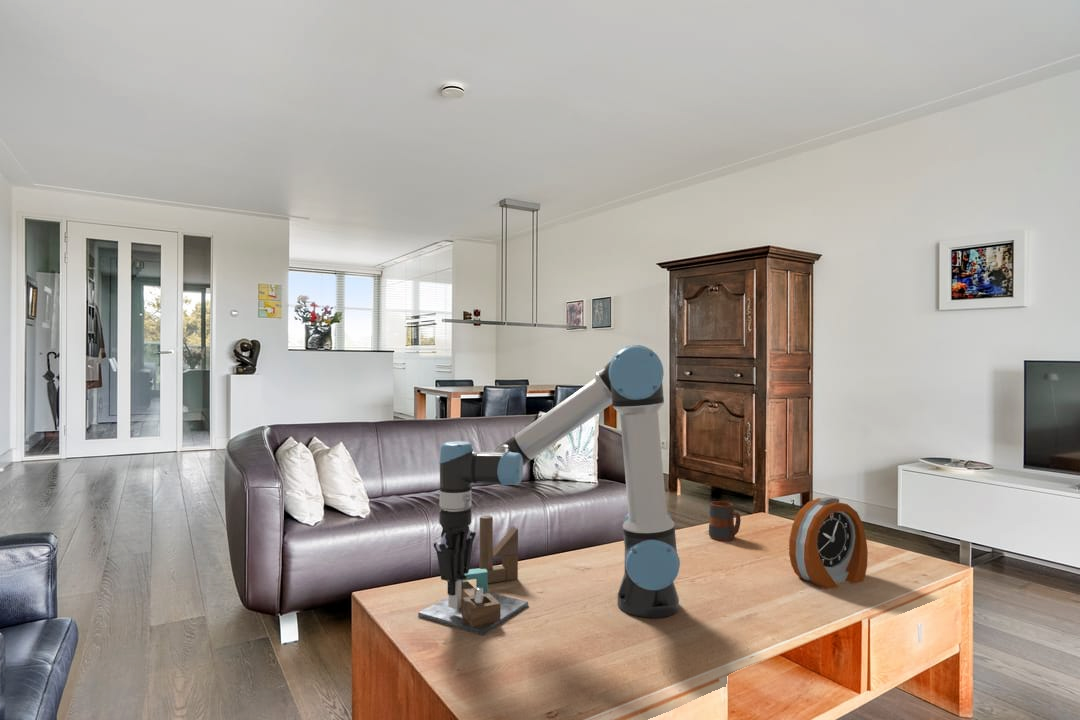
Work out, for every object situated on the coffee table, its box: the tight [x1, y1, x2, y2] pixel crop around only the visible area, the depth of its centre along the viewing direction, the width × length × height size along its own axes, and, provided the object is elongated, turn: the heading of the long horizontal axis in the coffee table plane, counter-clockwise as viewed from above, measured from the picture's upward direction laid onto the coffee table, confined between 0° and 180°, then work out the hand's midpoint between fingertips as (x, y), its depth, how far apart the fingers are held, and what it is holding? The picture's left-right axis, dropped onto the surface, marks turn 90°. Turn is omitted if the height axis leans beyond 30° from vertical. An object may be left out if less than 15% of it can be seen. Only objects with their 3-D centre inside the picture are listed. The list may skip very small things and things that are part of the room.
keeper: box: [462, 567, 489, 594], centre depth 157 cm, size 4×9×8 cm, turn 109°
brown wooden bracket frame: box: [478, 514, 519, 585], centre depth 172 cm, size 4×11×18 cm, turn 114°
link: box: [461, 580, 501, 626], centre depth 151 cm, size 18×7×4 cm, turn 27°
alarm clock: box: [788, 496, 868, 590], centre depth 174 cm, size 22×10×23 cm, turn 114°
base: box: [417, 587, 529, 636], centre depth 152 cm, size 19×19×8 cm
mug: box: [708, 500, 742, 542], centre depth 212 cm, size 9×12×12 cm
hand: (454, 606), depth 147 cm, fingers closed
